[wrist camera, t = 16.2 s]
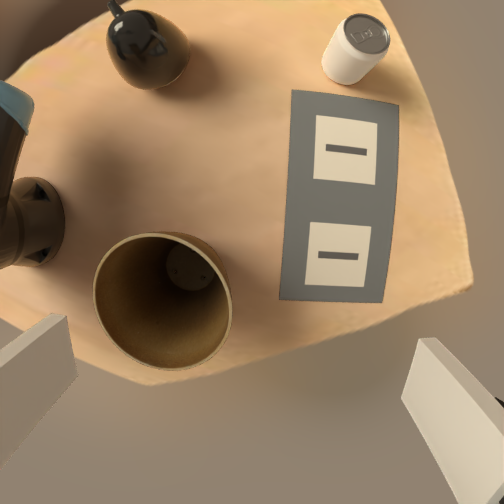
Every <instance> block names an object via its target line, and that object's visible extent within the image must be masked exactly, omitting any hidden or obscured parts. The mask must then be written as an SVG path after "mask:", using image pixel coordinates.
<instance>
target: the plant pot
mask: <svg viewBox="0 0 504 504" xmlns="http://www.w3.org/2000/svg"><path fill="white" fill-rule="evenodd" d="M192 249H193V250H194V251H192ZM174 271H177V273H174ZM203 276H205V278H203ZM93 303H94V308H95V312H96V315H97V318H98V320H99V323H100V325H101V327H102V328H103V330H104V332H105V333H106V335H107V336H108V338H109V339H110V340H111V341H112V343H113V344H114V345H115V346H116V347H117V348H118V349H119V350H120V351H122V352H123V353H124V354H125V355H127V356H128V357H130V358H131V359H133V360H134V361H136V362H138V363H140V364H143V365H145V366H148V367H151V368H155V369H159V370H167V371H178V370H185V369H190V368H193V367H196V366H198V365H201V364H202V363H204V362H206V361H208V360H209V359H210V358H212V357H213V356H214V355H215V354H216V353H217V352H218V351H219V349H220V348H221V347H222V346H223V344H224V343H225V341H226V339H227V337H228V334H229V331H230V328H231V324H232V299H231V292H230V286H229V281H228V277H227V274H226V271H225V269H224V266H223V264H222V262H221V260H220V258H219V257H218V255H217V254H216V253H215V251H214V250H213V249H212V248H211V247H210V246H209V245H208V244H206V243H205V242H203V241H202V240H200V239H198V238H196V237H193V236H191V235H187V234H183V233H178V232H149V233H143V234H138V235H134V236H131V237H128V238H126V239H124V240H122V241H120V242H119V243H117V244H116V245H114V246H113V247H112V248H111V249H110V250H109V251H108V252H107V253H106V254H105V256H104V257H103V258H102V260H101V261H100V263H99V265H98V268H97V270H96V273H95V276H94V281H93Z"/></svg>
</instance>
